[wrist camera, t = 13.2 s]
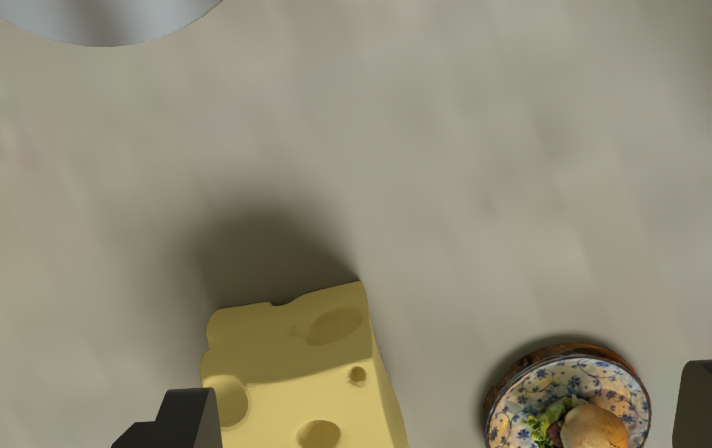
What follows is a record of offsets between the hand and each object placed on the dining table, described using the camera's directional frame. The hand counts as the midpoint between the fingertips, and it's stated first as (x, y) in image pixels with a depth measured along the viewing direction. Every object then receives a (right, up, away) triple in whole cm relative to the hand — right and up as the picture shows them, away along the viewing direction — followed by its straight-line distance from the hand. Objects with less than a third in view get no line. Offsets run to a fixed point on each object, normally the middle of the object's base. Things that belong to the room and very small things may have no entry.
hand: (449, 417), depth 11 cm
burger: (+13, -10, +37) cm, 41 cm away
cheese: (-5, -6, +34) cm, 35 cm away
